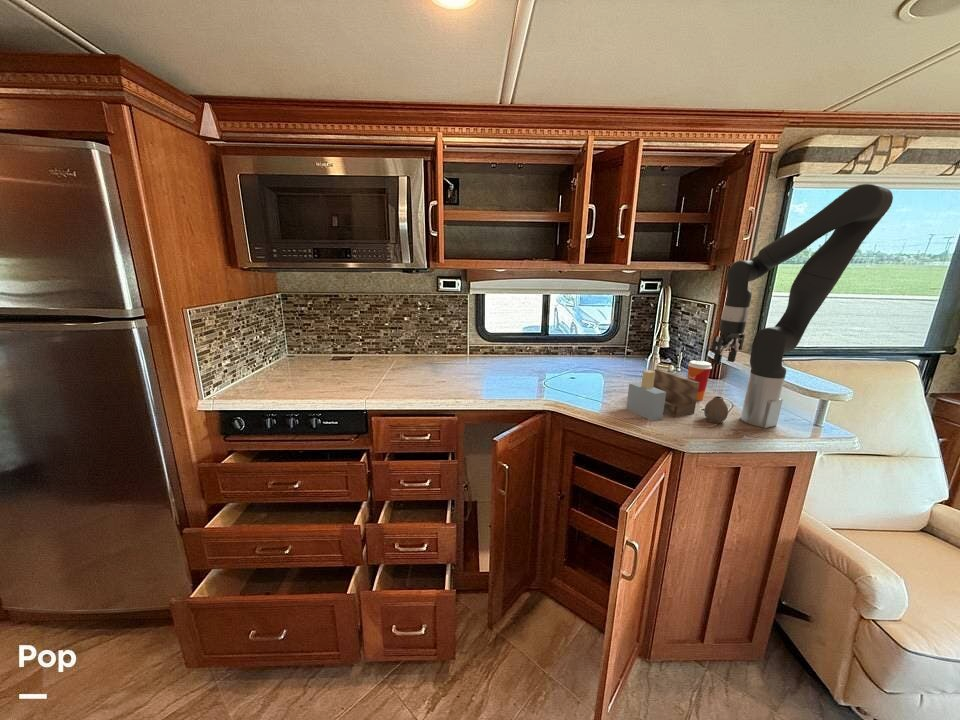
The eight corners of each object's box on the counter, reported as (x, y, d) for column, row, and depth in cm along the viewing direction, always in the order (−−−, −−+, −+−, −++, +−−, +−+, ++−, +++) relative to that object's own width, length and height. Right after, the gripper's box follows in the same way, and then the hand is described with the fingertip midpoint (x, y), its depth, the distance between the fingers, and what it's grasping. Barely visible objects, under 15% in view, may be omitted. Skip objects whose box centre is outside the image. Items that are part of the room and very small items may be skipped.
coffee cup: (681, 393, 153) (687, 359, 149) (703, 396, 150) (710, 361, 146) (684, 400, 145) (690, 364, 141) (707, 403, 142) (714, 366, 138)
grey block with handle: (662, 418, 128) (668, 375, 124) (651, 420, 126) (657, 377, 122) (636, 406, 139) (641, 366, 135) (626, 408, 137) (631, 367, 133)
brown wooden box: (694, 413, 132) (699, 382, 129) (674, 417, 129) (679, 385, 126) (654, 396, 149) (658, 368, 145) (635, 400, 145) (639, 371, 142)
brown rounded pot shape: (720, 426, 122) (725, 402, 120) (699, 419, 127) (703, 396, 125) (729, 421, 126) (734, 398, 124) (708, 415, 131) (712, 392, 129)
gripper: (732, 322, 122) (721, 368, 127) (757, 319, 128) (746, 363, 133) (710, 318, 128) (701, 362, 133) (735, 316, 134) (725, 357, 139)
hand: (723, 362), depth 133 cm, fingers open, 8 cm apart
